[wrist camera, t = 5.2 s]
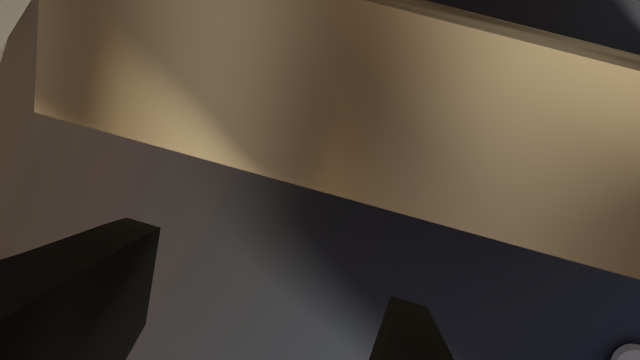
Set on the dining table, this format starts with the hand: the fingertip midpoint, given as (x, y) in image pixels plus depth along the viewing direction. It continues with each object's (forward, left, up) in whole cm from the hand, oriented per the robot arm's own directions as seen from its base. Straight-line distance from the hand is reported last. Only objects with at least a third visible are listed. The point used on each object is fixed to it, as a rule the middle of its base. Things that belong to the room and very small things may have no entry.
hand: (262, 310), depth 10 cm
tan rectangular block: (-1, -3, -8) cm, 9 cm away
